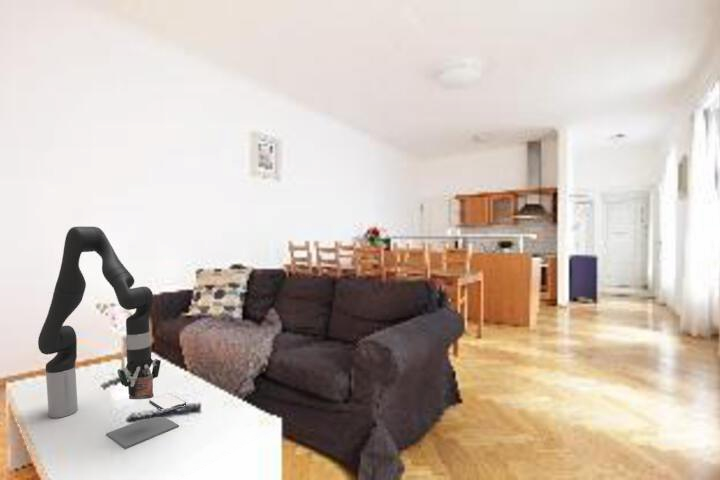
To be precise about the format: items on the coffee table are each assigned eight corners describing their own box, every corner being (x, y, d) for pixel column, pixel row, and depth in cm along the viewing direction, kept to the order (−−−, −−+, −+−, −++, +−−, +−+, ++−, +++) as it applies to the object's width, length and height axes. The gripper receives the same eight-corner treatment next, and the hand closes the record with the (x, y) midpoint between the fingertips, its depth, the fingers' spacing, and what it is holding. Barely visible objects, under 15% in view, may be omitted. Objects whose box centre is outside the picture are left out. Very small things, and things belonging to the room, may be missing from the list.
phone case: (148, 403, 171) (165, 414, 160) (147, 399, 171) (164, 410, 160) (170, 396, 177) (187, 406, 166) (169, 392, 177) (187, 402, 166)
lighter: (127, 399, 145) (125, 371, 144) (131, 395, 148) (130, 367, 147) (151, 399, 145) (149, 370, 144) (155, 394, 148) (153, 366, 148)
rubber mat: (106, 435, 145) (106, 433, 145) (158, 415, 159) (158, 413, 159) (125, 449, 135) (125, 447, 135) (179, 426, 149) (178, 425, 149)
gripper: (154, 338, 153) (156, 384, 154) (111, 348, 142) (114, 398, 143) (164, 342, 149) (166, 389, 150) (121, 352, 138) (123, 403, 138)
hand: (141, 393), depth 146 cm, fingers closed on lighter, 5 cm apart
